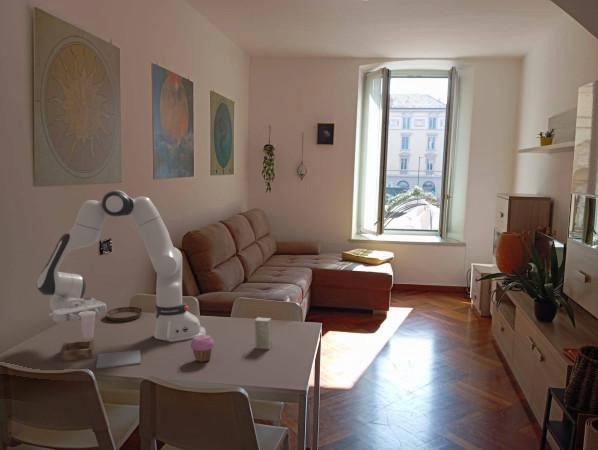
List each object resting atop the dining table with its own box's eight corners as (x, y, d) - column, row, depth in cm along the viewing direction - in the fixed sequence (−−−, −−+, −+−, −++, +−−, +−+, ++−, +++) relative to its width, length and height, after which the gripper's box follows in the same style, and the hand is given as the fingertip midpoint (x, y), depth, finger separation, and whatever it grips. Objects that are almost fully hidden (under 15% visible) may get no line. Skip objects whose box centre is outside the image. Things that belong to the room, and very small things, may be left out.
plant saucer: (122, 325, 249) (122, 318, 248) (97, 319, 258) (97, 313, 258) (150, 315, 264) (150, 310, 263) (126, 310, 273) (126, 304, 273)
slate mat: (140, 351, 214) (140, 350, 214) (140, 364, 200) (140, 362, 200) (98, 355, 209) (98, 354, 209) (96, 368, 196) (95, 367, 196)
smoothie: (89, 333, 211) (88, 299, 209) (100, 336, 208) (98, 301, 206) (75, 337, 206) (74, 303, 204) (86, 340, 202) (84, 305, 201)
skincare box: (272, 346, 220) (272, 318, 218) (268, 349, 216) (268, 321, 214) (258, 344, 222) (257, 316, 220) (254, 348, 217) (254, 319, 216)
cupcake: (218, 360, 204) (217, 335, 203) (199, 366, 198) (198, 340, 197) (205, 354, 210) (205, 330, 209) (186, 359, 205) (186, 335, 203)
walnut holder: (94, 348, 217) (93, 339, 217) (91, 357, 207) (91, 349, 206) (64, 350, 214) (63, 342, 214) (60, 361, 203) (59, 352, 203)
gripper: (46, 306, 207) (60, 313, 197) (96, 297, 221) (112, 303, 212) (47, 322, 208) (61, 330, 198) (97, 311, 222) (113, 318, 213)
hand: (88, 316), depth 205 cm, fingers closed on smoothie, 6 cm apart
